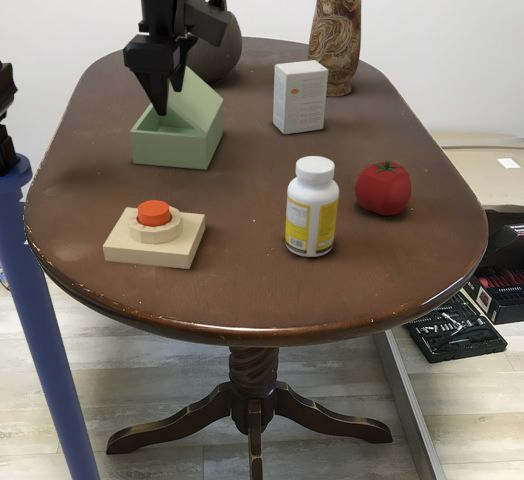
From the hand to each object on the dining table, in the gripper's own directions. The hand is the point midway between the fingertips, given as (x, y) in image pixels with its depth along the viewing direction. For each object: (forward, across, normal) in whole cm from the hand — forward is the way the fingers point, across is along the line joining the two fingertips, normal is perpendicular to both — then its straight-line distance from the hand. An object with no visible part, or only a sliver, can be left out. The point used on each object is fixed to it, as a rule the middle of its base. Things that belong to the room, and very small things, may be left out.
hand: (170, 103), depth 83 cm
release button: (+9, -17, -1) cm, 19 cm away
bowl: (+12, +48, +6) cm, 50 cm away
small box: (+12, +26, -17) cm, 33 cm away
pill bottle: (+12, -14, -22) cm, 29 cm away
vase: (+12, +47, -22) cm, 53 cm away
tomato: (+12, -2, -32) cm, 34 cm away
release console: (+12, -17, -2) cm, 21 cm away
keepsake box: (+12, +13, +2) cm, 18 cm away
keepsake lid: (+3, +13, +2) cm, 13 cm away
